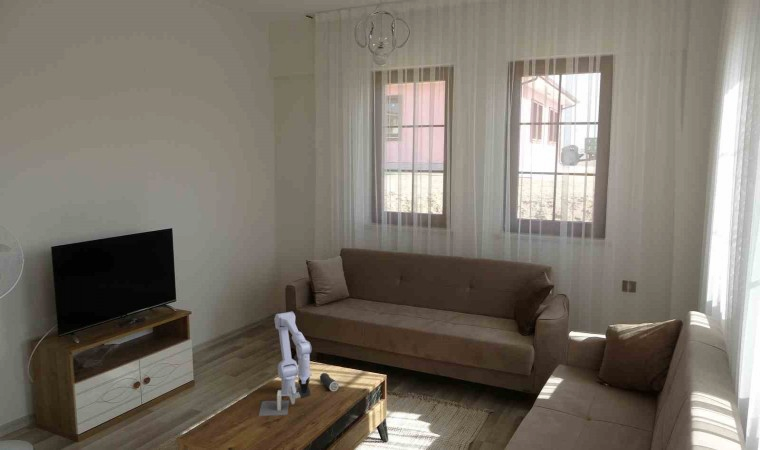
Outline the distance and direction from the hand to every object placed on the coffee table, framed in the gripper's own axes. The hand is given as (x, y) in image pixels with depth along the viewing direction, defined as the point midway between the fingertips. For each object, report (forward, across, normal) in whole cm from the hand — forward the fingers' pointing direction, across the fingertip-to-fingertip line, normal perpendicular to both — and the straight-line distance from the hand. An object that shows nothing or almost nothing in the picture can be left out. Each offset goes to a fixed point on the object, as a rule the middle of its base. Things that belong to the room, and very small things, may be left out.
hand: (304, 391), depth 286 cm
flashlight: (+9, +26, -13) cm, 30 cm away
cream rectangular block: (+8, 0, +12) cm, 15 cm away
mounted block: (+3, 0, +1) cm, 3 cm away
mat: (+9, 0, +15) cm, 17 cm away
